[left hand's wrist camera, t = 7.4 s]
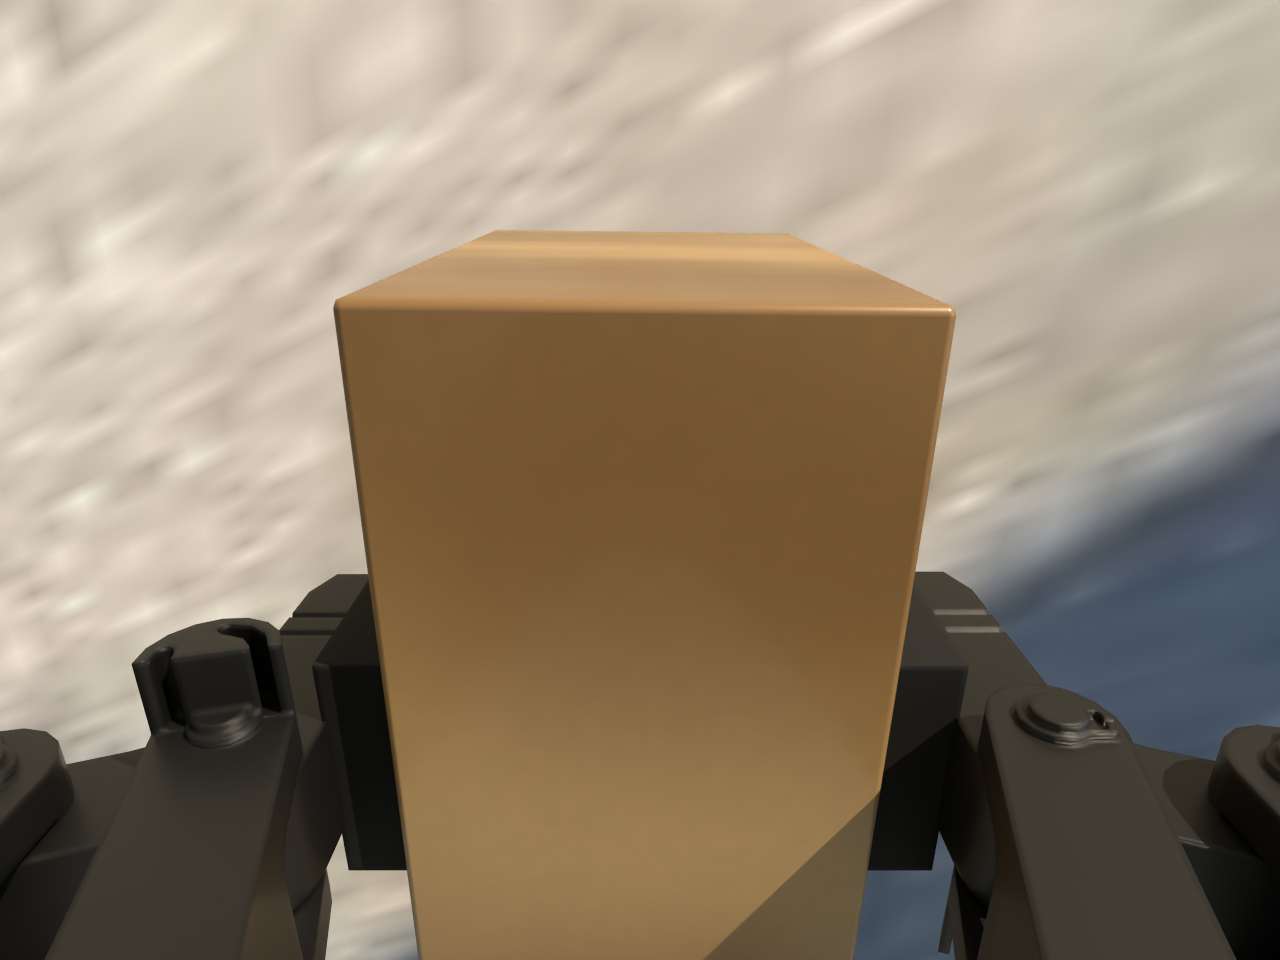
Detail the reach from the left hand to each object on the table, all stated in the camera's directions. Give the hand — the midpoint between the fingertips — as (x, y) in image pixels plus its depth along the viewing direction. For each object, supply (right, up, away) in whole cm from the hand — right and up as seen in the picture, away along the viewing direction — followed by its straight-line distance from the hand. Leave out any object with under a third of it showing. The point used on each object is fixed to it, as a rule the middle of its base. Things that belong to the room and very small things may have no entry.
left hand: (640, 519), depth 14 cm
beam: (0, -28, +12) cm, 31 cm away
